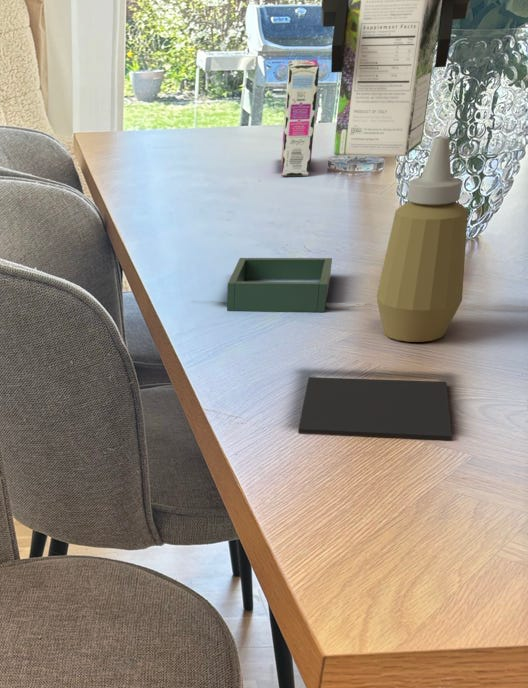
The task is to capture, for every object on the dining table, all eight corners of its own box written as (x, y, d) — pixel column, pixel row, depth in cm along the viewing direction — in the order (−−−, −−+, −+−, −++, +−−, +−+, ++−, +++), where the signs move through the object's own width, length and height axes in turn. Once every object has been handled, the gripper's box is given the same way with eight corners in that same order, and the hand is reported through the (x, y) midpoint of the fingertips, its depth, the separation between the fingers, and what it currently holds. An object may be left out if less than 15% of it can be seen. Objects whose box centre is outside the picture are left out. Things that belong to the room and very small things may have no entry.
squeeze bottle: (355, 337, 101) (377, 141, 90) (399, 317, 105) (425, 128, 94) (428, 353, 95) (460, 148, 85) (471, 331, 100) (506, 133, 89)
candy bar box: (311, 176, 167) (320, 64, 157) (281, 177, 168) (288, 66, 158) (309, 163, 176) (317, 57, 166) (280, 165, 177) (287, 59, 167)
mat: (445, 385, 89) (446, 381, 88) (451, 440, 79) (452, 436, 79) (308, 381, 92) (308, 376, 92) (298, 433, 82) (298, 428, 82)
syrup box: (351, 144, 82) (370, -69, 74) (424, 144, 80) (453, -76, 72) (332, 157, 78) (350, -66, 70) (409, 158, 76) (437, -74, 68)
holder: (329, 284, 116) (332, 258, 114) (324, 312, 108) (327, 284, 106) (238, 283, 119) (239, 257, 117) (226, 310, 111) (227, 283, 109)
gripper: (548, -180, 77) (524, 86, 73) (289, -152, 82) (256, 98, 79) (573, -283, 69) (547, 6, 66) (287, -245, 75) (250, 25, 72)
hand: (389, 55), depth 72 cm, fingers closed on syrup box, 7 cm apart
